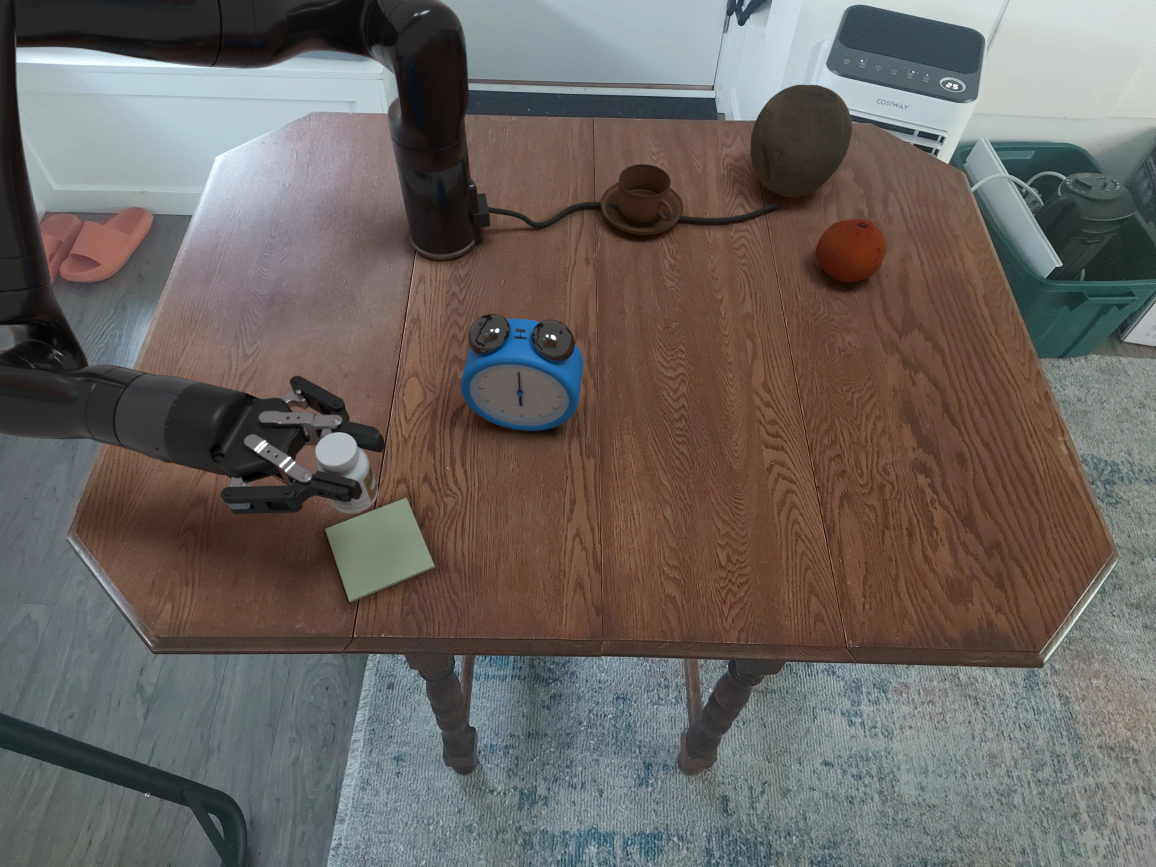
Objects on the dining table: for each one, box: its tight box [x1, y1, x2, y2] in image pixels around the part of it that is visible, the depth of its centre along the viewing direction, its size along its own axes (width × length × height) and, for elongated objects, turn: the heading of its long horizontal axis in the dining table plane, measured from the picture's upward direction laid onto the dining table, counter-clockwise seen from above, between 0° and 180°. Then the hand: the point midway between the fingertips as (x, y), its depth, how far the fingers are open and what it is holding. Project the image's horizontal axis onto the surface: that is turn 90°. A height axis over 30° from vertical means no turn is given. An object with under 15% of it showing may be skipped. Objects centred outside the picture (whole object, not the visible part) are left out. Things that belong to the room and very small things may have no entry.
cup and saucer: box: [600, 163, 684, 236], centre depth 109 cm, size 12×12×6 cm
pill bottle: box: [314, 432, 379, 515], centre depth 67 cm, size 4×4×8 cm
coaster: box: [324, 497, 436, 604], centre depth 79 cm, size 9×9×1 cm
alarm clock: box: [460, 313, 584, 432], centre depth 84 cm, size 13×6×15 cm, turn 84°
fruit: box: [815, 218, 887, 283], centre depth 102 cm, size 9×9×8 cm
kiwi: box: [749, 84, 853, 199], centre depth 110 cm, size 14×14×15 cm
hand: (370, 466), depth 65 cm, fingers closed on pill bottle, 4 cm apart
